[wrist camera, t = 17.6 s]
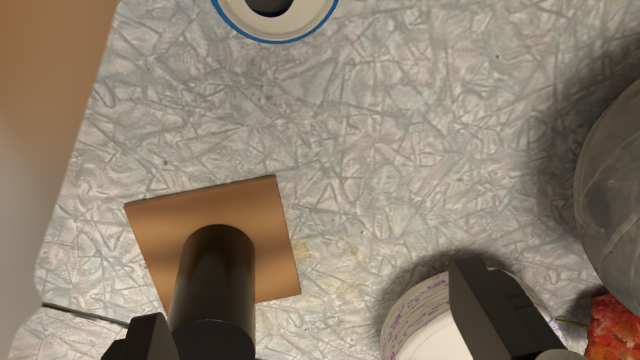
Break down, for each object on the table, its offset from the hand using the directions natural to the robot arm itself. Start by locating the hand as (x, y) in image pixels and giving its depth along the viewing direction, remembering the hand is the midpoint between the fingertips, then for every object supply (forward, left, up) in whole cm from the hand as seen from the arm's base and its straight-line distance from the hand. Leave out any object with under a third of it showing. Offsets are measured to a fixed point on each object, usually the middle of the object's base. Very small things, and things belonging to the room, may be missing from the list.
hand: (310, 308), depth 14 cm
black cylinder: (+14, -8, -24) cm, 29 cm away
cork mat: (+14, -8, -25) cm, 29 cm away
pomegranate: (+30, +27, -25) cm, 47 cm away
